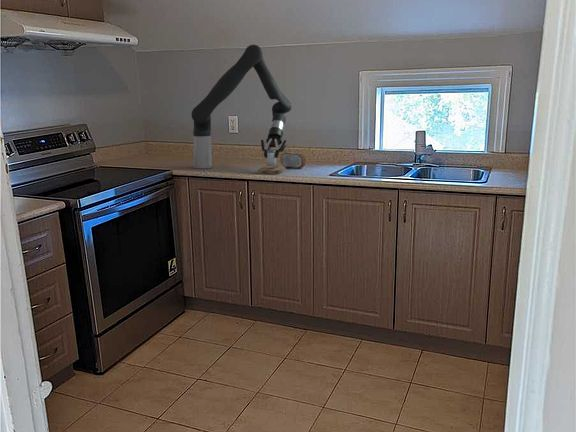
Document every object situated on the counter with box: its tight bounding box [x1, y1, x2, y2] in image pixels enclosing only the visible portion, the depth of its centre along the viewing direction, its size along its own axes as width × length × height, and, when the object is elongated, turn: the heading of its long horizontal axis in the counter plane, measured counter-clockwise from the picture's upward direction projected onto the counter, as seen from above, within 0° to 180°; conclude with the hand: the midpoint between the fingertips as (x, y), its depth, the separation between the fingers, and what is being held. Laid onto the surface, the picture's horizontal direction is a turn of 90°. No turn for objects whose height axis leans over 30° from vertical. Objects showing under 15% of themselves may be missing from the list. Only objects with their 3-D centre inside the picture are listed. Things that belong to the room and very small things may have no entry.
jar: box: [266, 148, 277, 166], centre depth 275 cm, size 5×5×8 cm
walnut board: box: [257, 165, 286, 175], centre depth 277 cm, size 11×14×2 cm
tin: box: [280, 151, 306, 169], centre depth 291 cm, size 15×3×8 cm, turn 56°
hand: (270, 156), depth 274 cm, fingers closed on jar, 4 cm apart
